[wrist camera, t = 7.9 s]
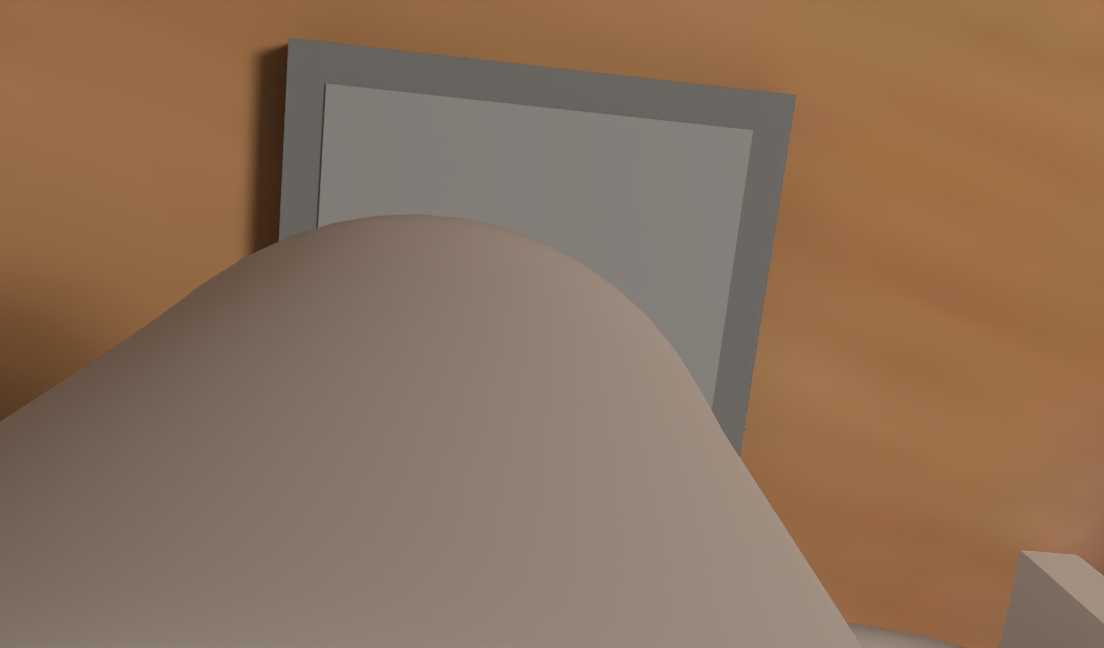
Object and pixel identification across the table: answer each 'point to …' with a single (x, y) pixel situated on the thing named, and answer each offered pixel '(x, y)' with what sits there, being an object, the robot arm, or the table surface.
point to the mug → (396, 468)
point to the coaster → (559, 179)
